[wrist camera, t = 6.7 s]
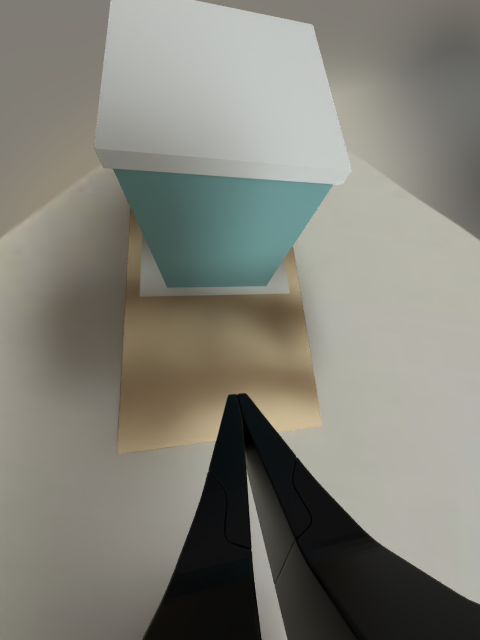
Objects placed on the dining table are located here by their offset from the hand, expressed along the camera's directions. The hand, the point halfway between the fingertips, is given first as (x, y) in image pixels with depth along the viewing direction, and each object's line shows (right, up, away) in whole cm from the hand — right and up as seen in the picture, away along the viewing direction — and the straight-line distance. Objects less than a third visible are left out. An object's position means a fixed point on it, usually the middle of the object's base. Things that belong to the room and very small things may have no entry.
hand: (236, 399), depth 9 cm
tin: (-2, +10, +8) cm, 13 cm away
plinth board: (-2, +5, +8) cm, 9 cm away
